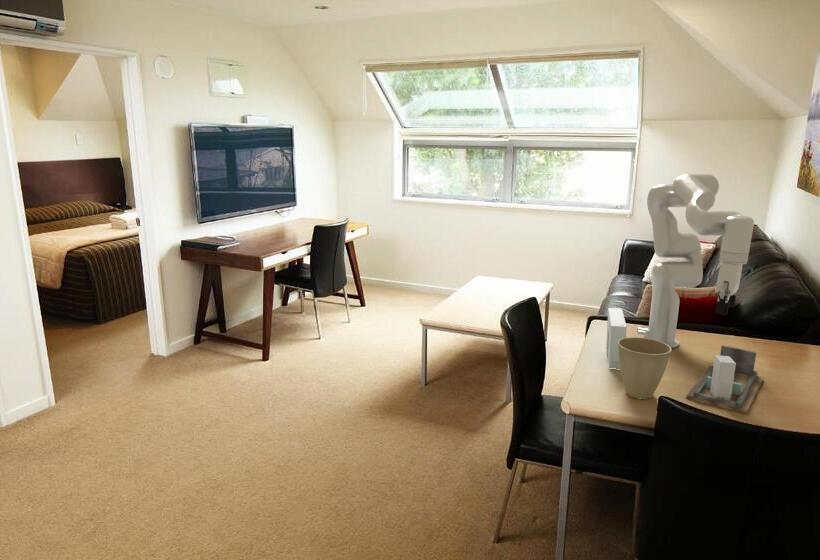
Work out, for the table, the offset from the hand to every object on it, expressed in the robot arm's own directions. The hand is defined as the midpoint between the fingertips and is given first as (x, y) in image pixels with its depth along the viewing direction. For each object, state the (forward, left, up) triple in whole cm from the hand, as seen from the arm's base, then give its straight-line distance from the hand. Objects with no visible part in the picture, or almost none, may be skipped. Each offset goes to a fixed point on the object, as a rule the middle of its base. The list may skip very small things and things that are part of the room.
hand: (724, 310), depth 178 cm
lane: (+4, -3, -24) cm, 25 cm away
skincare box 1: (-32, -1, -25) cm, 40 cm away
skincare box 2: (+4, -13, -23) cm, 27 cm away
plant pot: (-16, -24, -24) cm, 38 cm away
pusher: (+4, -9, -23) cm, 25 cm away
